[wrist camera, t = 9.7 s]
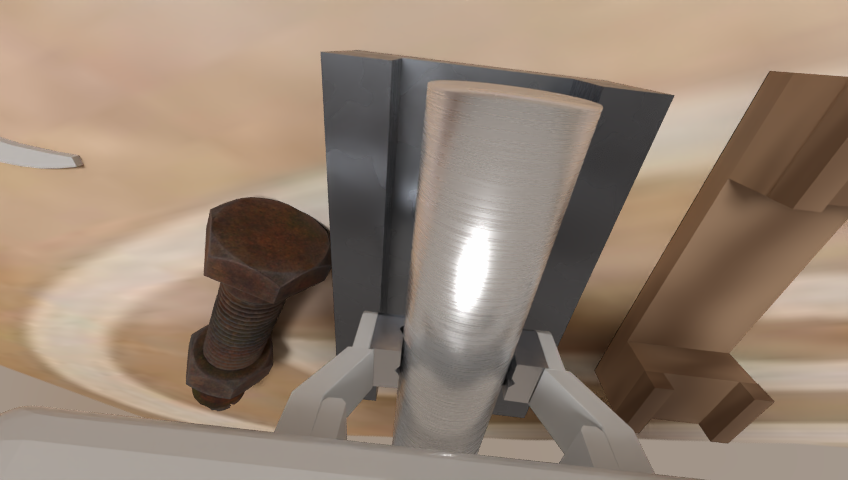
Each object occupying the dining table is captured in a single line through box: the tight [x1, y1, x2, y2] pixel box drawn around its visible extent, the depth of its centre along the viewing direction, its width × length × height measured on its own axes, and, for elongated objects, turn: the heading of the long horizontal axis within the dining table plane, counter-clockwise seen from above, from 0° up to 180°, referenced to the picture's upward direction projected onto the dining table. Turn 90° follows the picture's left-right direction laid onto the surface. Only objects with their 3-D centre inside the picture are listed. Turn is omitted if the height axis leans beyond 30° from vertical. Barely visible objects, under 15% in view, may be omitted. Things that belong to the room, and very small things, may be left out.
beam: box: [595, 71, 848, 443], centre depth 15 cm, size 6×18×4 cm, turn 174°
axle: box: [392, 80, 603, 455], centre depth 11 cm, size 16×4×4 cm, turn 174°
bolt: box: [186, 197, 332, 411], centre depth 19 cm, size 6×5×15 cm
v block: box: [321, 50, 674, 418], centre depth 15 cm, size 10×16×4 cm, turn 174°
